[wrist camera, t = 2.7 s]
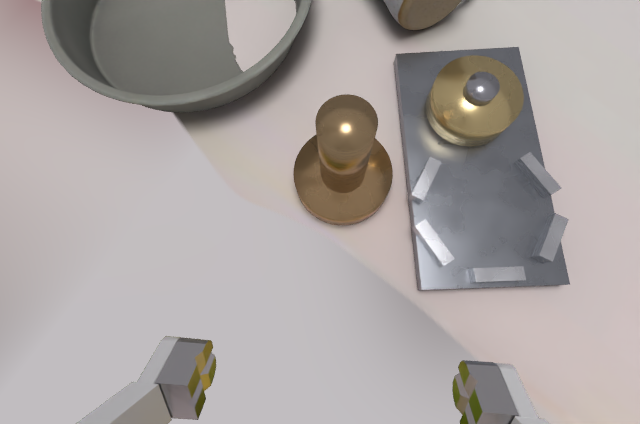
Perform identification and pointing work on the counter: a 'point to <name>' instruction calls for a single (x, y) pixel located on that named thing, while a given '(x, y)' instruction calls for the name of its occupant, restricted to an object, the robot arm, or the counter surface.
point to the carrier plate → (476, 173)
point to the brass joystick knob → (343, 163)
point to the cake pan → (157, 50)
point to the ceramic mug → (420, 12)
